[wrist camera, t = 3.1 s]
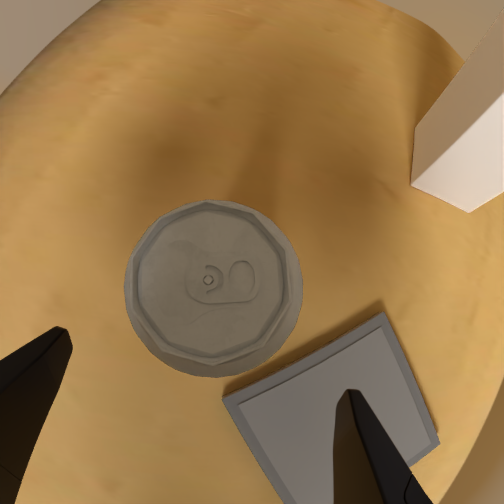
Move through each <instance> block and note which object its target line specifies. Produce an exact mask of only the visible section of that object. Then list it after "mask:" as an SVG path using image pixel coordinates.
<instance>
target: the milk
mask: <svg viewBox="0 0 504 504" xmlns="http://www.w3.org/2000/svg"><path fill="white" fill-rule="evenodd" d="M411 186H413V187H415V188H417V189H419V190H422V191H424V192H426V193H428V194H430V195H432V196H435V197H437V198H439V199H441V200H443V201H445V202H447V203H449V204H451V205H453V206H455V207H457V208H459V209H461V210H463V211H465V212H467V213H470V212H472V211H473V210H475V209H477V208H478V207H480V206H481V205H483V204H485V203H486V202H488V201H490V200H491V199H493V198H494V197H496V196H498V195H499V194H501V193H502V192H504V8H503V10H502V11H501V13H500V14H499V15H498V17H497V18H496V20H495V21H494V23H493V24H492V25H491V27H490V28H489V30H488V31H487V33H486V34H485V36H484V37H483V38H482V40H481V41H480V43H479V44H478V45H477V47H476V48H475V49H474V51H473V52H472V54H471V55H470V56H469V58H468V59H467V60H466V62H465V63H464V64H463V66H462V67H461V69H460V70H459V71H458V73H457V74H456V75H455V77H454V78H453V79H452V81H451V82H450V83H449V85H448V86H447V87H446V88H445V90H444V91H443V92H442V94H441V95H440V96H439V98H438V99H437V100H436V102H435V103H434V104H433V105H432V107H431V108H430V109H429V111H428V112H427V113H426V114H425V116H424V117H423V118H422V119H421V121H420V122H419V123H418V125H417V126H416V127H415V134H414V150H413V163H412V174H411Z"/></svg>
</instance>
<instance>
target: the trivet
mask: <svg viewBox="0 0 504 504" xmlns="http://www.w3.org/2000/svg"><path fill="white" fill-rule="evenodd" d="M346 389H358V390H360V391H361V393H362V394H363V396H364V397H365V399H366V400H367V402H368V404H369V405H370V407H371V408H372V410H373V411H374V413H375V415H376V416H377V418H378V419H379V421H380V422H381V424H382V426H383V427H384V429H385V430H386V432H387V433H388V435H389V437H390V438H391V440H392V441H393V443H394V445H395V446H396V448H397V449H398V451H399V453H400V454H401V456H402V457H403V459H404V461H405V462H406V464H407V465H408V467H411V466H412V465H413V464H415V463H416V462H418V461H419V460H420V459H422V458H423V457H424V456H426V455H427V454H428V453H429V452H431V451H432V450H433V449H435V448H436V447H437V446H438V445H440V441H439V438H438V436H437V433H436V430H435V428H434V425H433V422H432V420H431V417H430V415H429V412H428V410H427V407H426V405H425V402H424V400H423V397H422V395H421V392H420V390H419V388H418V385H417V383H416V380H415V378H414V376H413V373H412V371H411V369H410V367H409V364H408V362H407V360H406V358H405V355H404V353H403V351H402V349H401V346H400V344H399V342H398V340H397V338H396V336H395V334H394V331H393V329H392V327H391V325H390V323H389V321H388V319H387V317H386V315H385V313H384V312H379V313H377V314H375V315H374V316H372V317H371V318H369V319H367V320H366V321H364V322H363V323H361V324H359V325H358V326H356V327H354V328H353V329H351V330H349V331H348V332H346V333H344V334H343V335H341V336H339V337H337V338H336V339H334V340H332V341H330V342H329V343H327V344H325V345H323V346H322V347H320V348H318V349H316V350H314V351H313V352H311V353H309V354H307V355H305V356H303V357H302V358H300V359H298V360H296V361H294V362H292V363H290V364H288V365H286V366H285V367H283V368H281V369H279V370H277V371H275V372H273V373H271V374H269V375H267V376H265V377H263V378H261V379H259V380H257V381H255V382H253V383H250V384H248V385H246V386H244V387H242V388H240V389H238V390H236V391H233V392H231V393H229V394H227V395H225V396H222V401H223V403H224V405H225V407H226V408H227V410H228V412H229V414H230V416H231V417H232V419H233V421H234V423H235V424H236V426H237V428H238V430H239V431H240V433H241V435H242V437H243V438H244V440H245V442H246V444H247V445H248V447H249V449H250V450H251V452H252V454H253V455H254V457H255V459H256V460H257V462H258V464H259V465H260V467H261V468H262V470H263V472H264V473H265V475H266V476H267V478H268V480H269V481H270V483H271V484H272V486H273V487H274V489H275V491H276V492H277V494H278V495H279V497H280V498H281V500H282V501H283V503H284V504H333V439H334V427H335V414H336V405H337V402H338V401H339V399H340V398H341V396H342V395H343V393H344V392H345V390H346Z"/></svg>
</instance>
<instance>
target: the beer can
mask: <svg viewBox="0 0 504 504" xmlns="http://www.w3.org/2000/svg"><path fill="white" fill-rule="evenodd" d="M124 293H125V302H126V310H127V313H128V316H129V318H130V321H131V324H132V326H133V329H134V330H135V332H136V334H137V335H138V337H139V338H140V339H141V341H142V342H143V343H144V344H145V346H146V347H147V348H148V350H149V351H150V352H151V353H152V354H153V355H155V356H156V357H157V358H159V359H160V360H161V361H163V362H164V363H165V364H167V365H168V366H170V367H172V368H174V369H176V370H178V371H181V372H184V373H187V374H190V375H194V376H200V377H215V378H218V377H225V376H232V375H237V374H240V373H243V372H245V371H248V370H250V369H253V368H255V367H257V366H258V365H260V364H262V363H263V362H265V361H266V360H267V359H269V358H270V357H271V356H272V355H273V354H275V353H276V352H277V351H278V350H279V349H280V348H281V346H282V345H283V343H284V342H285V341H286V339H287V338H288V336H289V335H290V333H291V332H292V330H293V329H294V327H295V324H296V322H297V319H298V315H299V312H300V309H301V305H302V298H303V279H302V274H301V269H300V264H299V260H298V258H297V256H296V253H295V251H294V249H293V247H292V245H291V243H290V241H289V240H288V238H287V237H286V236H285V235H284V234H283V232H282V231H281V230H280V229H279V228H278V227H277V226H276V225H275V224H274V223H273V221H272V220H270V219H269V218H267V217H266V216H264V215H263V214H262V213H260V212H258V211H257V210H255V209H252V208H250V207H247V206H245V205H242V204H239V203H235V202H232V201H222V200H203V201H198V202H193V203H188V204H185V205H182V206H180V207H178V208H176V209H174V210H172V211H170V212H168V213H166V214H164V215H163V216H161V217H159V218H158V219H157V220H156V221H155V222H154V223H153V224H152V225H151V226H150V227H148V229H147V230H146V232H145V233H144V234H143V236H142V237H141V239H140V240H139V242H138V243H137V245H136V246H135V248H134V249H133V251H132V254H131V256H130V259H129V261H128V264H127V268H126V273H125V282H124Z"/></svg>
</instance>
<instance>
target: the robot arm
mask: <svg viewBox="0 0 504 504" xmlns="http://www.w3.org/2000/svg"><path fill="white" fill-rule="evenodd" d="M72 350H73V345H72V342H71V339H70V336H69V332H68V330H67V329H65V328H62V327H59V326H56V327H53V328H52V329H50V330H49V331H47V332H45V333H44V334H42V335H40V336H39V337H37V338H35V339H34V340H32V341H31V342H29V343H27V344H26V345H24V346H22V347H21V348H19V349H18V350H16V351H14V352H13V353H11V354H10V355H8V356H6V357H5V358H3V359H2V360H0V504H15V501H16V497H17V494H18V491H19V488H20V485H21V481H22V479H23V476H24V473H25V471H26V468H27V465H28V462H29V460H30V457H31V454H32V452H33V449H34V447H35V444H36V441H37V439H38V437H39V434H40V432H41V429H42V427H43V424H44V422H45V420H46V417H47V415H48V413H49V410H50V408H51V406H52V404H53V401H54V399H55V397H56V395H57V393H58V390H59V388H60V385H61V382H62V379H63V376H64V373H65V370H66V368H67V365H68V362H69V359H70V356H71V354H72ZM333 504H433V503H432V501H431V500H430V499H429V497H428V496H427V495H426V493H425V492H424V490H423V489H422V487H421V486H420V484H419V483H418V481H417V480H416V478H415V476H414V475H413V474H412V472H411V470H410V469H409V467H408V465H407V464H406V462H405V461H404V459H403V457H402V456H401V454H400V453H399V451H398V449H397V448H396V446H395V445H394V443H393V441H392V440H391V438H390V437H389V435H388V433H387V432H386V430H385V429H384V427H383V426H382V424H381V422H380V421H379V419H378V418H377V416H376V415H375V413H374V411H373V410H372V408H371V407H370V405H369V404H368V402H367V400H366V399H365V397H364V396H363V394H362V393H361V391H360V390H358V389H346V390H345V392H344V393H343V395H342V396H341V398H340V399H339V401H338V402H337V405H336V414H335V427H334V439H333Z"/></svg>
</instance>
